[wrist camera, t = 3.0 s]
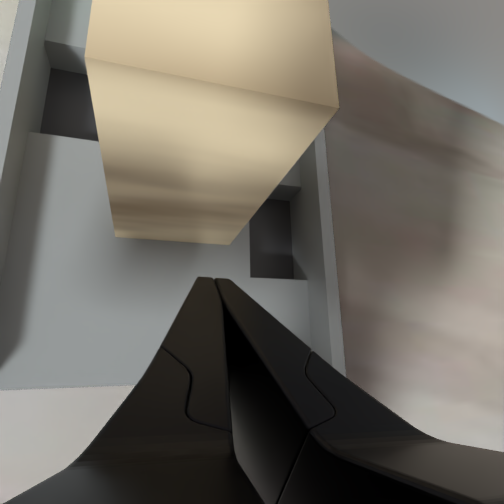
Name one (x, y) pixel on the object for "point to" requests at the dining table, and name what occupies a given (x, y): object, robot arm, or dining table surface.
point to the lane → (126, 249)
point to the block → (204, 107)
